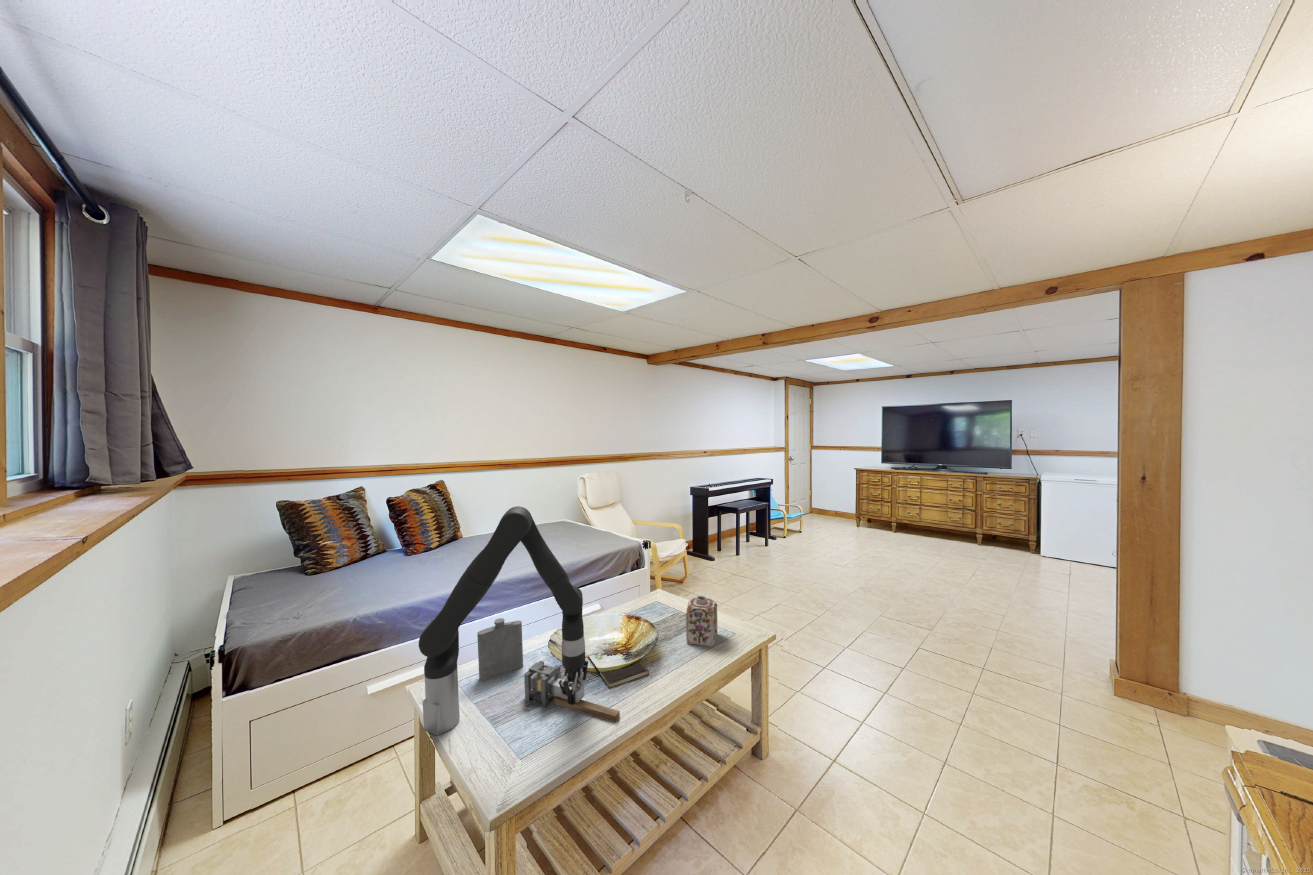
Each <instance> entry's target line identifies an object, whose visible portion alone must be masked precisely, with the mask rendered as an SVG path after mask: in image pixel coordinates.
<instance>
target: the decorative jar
mask: <svg viewBox="0 0 1313 875" xmlns="http://www.w3.org/2000/svg"><path fill="white" fill-rule="evenodd" d="M686 606H687V607H686V612H685V622H686V624H685V625H686V626H685V628H686V629H685V633H686V634H685V636H686V637H685V638H686V644H688V645H696V646H703V647H710V648H713V647H714V646H715V642H716V639H717V636H718V604H717V602H715V601H714V600H713V599H711V598H710V597H706V596H705V595H698V596H696V597H694V598H690V599H689V601H688V603H687V605H686Z"/></svg>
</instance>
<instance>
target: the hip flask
mask: <svg viewBox="0 0 1313 875" xmlns="http://www.w3.org/2000/svg"><path fill="white" fill-rule="evenodd" d="M493 623H494V625H493V626H490V627H487V628H485V629H481V630H479V631H477V633H476V634H477V635H476V637H477V653H478V654H477V658H478V677H479V678H478V679H479V681H481V682H484V681H487V680H489V679H492V678H494V677H496V676H499V675H501V674H505V673H508V672H512V671H517V670H520V669H522V668H523V667H524V651H523V650H524V649H523V646H524V645H523V627H522V626H523V624H522V623H523V622H522V620H515V621H508V622H505V618H501V617H499V618H497V619H495V620H494V622H493Z"/></svg>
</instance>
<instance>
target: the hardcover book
mask: <svg viewBox="0 0 1313 875" xmlns="http://www.w3.org/2000/svg"><path fill="white" fill-rule="evenodd" d="M649 673H650V672H649V669H648V668H646V666H645V665H644V664H643V663H642V662H641V661H640V662H639V663H637V664H635V665H633V666H630V667H627V668H624V669H620V670H615V671H609V672H600V673H599V674H600V676H601V678H602V679H603V681H605V683H606V684H607V686H608V687H609V688H612V687H615V686H618V685H621V684H623V683H626V682H629V681H632V680H635V679H637V678H641V677H644V676H646V675H649Z"/></svg>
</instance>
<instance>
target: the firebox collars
mask: <svg viewBox="0 0 1313 875" xmlns="http://www.w3.org/2000/svg"><path fill="white" fill-rule="evenodd" d="M561 670H562V669H561V665H558V664H555V666H550V665H548V664H545V661H544V660H540V661H539V662H535V663H534V664H532V666H530V667H529V668H528V670H527V671H526V672H525V673H524V676H523V677H524V678H523V679H524V681H525V684H524V701H525V703H528V704H532V705H535V706H538V707H541V708H544V709H547V708H548V707H549V706H550V705H551V704H552V703H554V697H555V696H554V695H551V694H548V681H549V680H550V679H551V678H552V677H555V678H559V679H562V676H561V675H562V674H561ZM535 673H539V674H543V675H545V676H544V677H543V678H541V692H540V691H537V690H534V689H531V676H533V675H534V674H535ZM524 681H523V682H524ZM540 693H541V700H538V699H535V698H536V697H537V696H539V694H540Z"/></svg>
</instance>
